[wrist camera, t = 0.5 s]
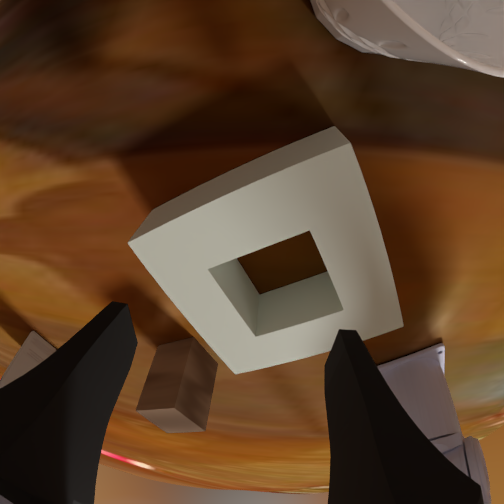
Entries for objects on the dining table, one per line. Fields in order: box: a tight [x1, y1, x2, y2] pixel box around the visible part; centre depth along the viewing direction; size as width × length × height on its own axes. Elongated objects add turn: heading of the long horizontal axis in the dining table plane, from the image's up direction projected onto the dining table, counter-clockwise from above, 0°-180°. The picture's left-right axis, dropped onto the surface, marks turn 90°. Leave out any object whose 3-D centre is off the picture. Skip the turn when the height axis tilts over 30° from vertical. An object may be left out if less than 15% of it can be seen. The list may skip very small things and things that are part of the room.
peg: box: [136, 337, 218, 433], centre depth 24 cm, size 4×4×7 cm
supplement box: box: [0, 331, 56, 388], centre depth 26 cm, size 7×7×13 cm
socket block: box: [128, 126, 404, 374], centre depth 18 cm, size 12×12×4 cm
